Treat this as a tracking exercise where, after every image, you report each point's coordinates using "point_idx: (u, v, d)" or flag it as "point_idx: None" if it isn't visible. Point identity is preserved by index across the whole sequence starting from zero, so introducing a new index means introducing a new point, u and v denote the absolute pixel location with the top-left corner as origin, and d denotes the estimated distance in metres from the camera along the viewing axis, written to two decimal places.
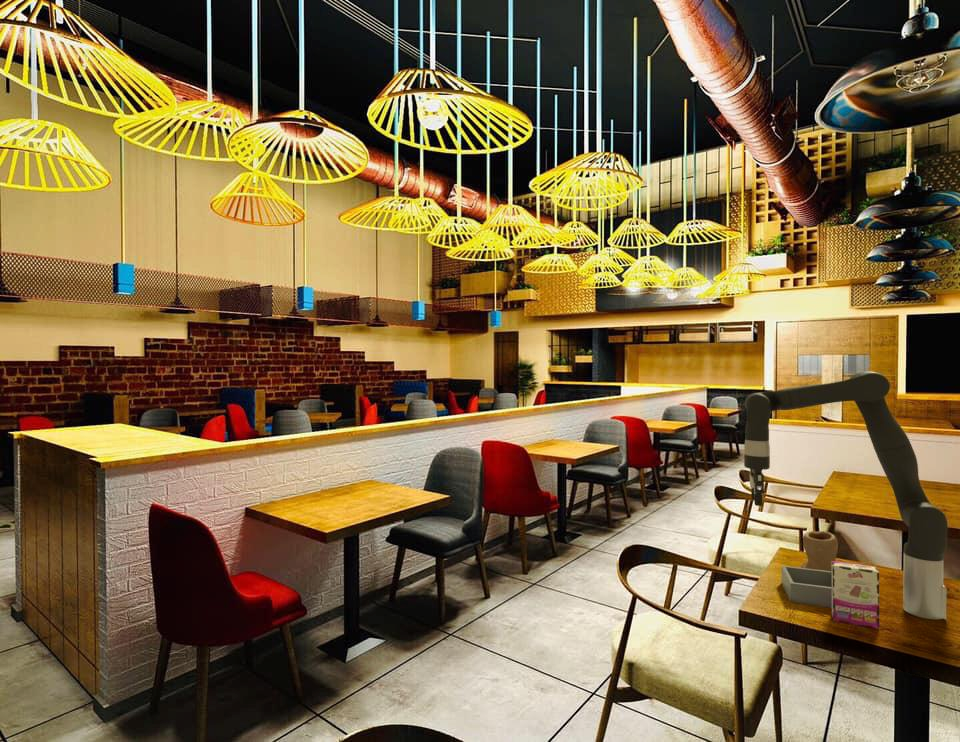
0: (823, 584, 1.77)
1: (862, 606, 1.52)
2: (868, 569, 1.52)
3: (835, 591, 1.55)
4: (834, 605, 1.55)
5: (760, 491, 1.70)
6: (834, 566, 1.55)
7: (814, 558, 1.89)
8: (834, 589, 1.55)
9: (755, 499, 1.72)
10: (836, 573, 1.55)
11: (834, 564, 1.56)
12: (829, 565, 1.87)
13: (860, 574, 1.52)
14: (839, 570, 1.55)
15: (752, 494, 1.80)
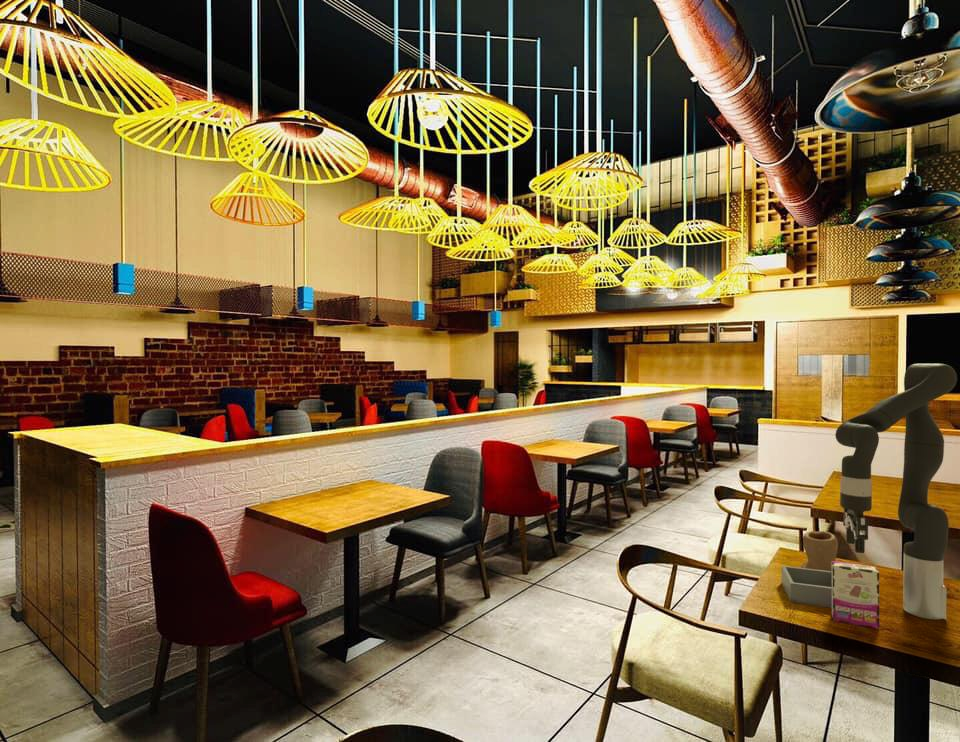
0: (823, 584, 1.77)
1: (862, 606, 1.52)
2: (868, 569, 1.52)
3: (834, 591, 1.55)
4: (834, 605, 1.55)
5: (863, 537, 1.48)
6: (834, 566, 1.55)
7: (814, 558, 1.89)
8: (834, 589, 1.55)
9: (856, 545, 1.51)
10: (836, 573, 1.55)
11: (834, 564, 1.56)
12: (829, 565, 1.87)
13: (860, 574, 1.52)
14: (839, 570, 1.55)
15: (847, 537, 1.59)
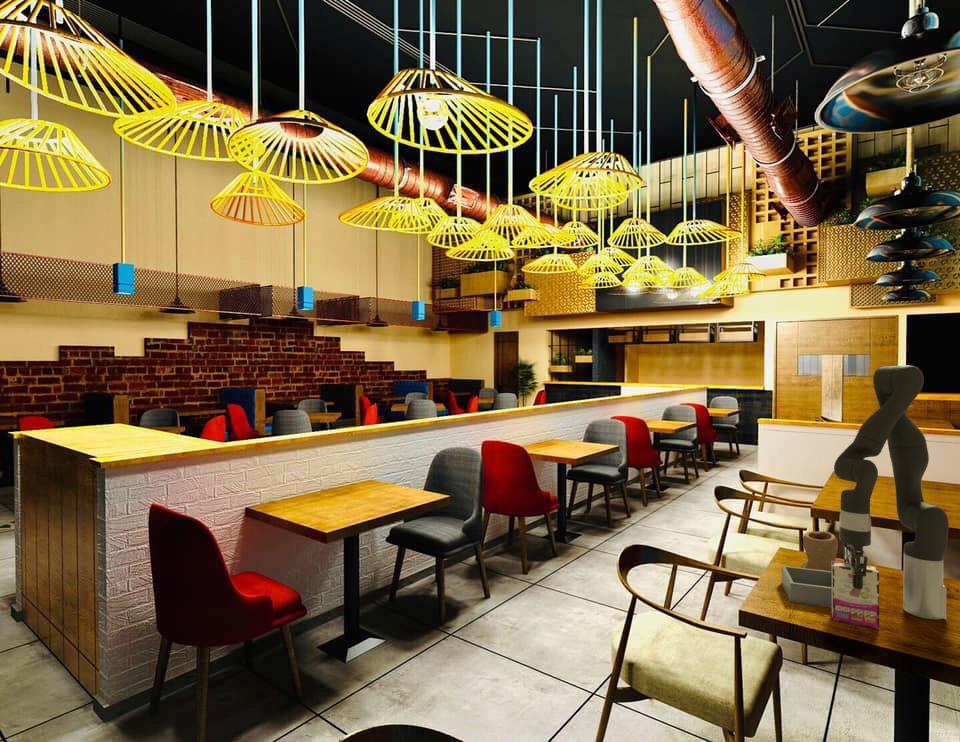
0: (823, 584, 1.77)
1: (862, 606, 1.52)
2: (868, 569, 1.52)
3: (834, 590, 1.55)
4: (834, 605, 1.55)
5: (861, 573, 1.50)
6: (834, 566, 1.55)
7: (814, 558, 1.89)
8: (834, 589, 1.55)
9: (854, 581, 1.52)
10: (836, 573, 1.55)
11: (834, 564, 1.56)
12: (829, 565, 1.87)
13: None
14: (839, 570, 1.55)
15: None
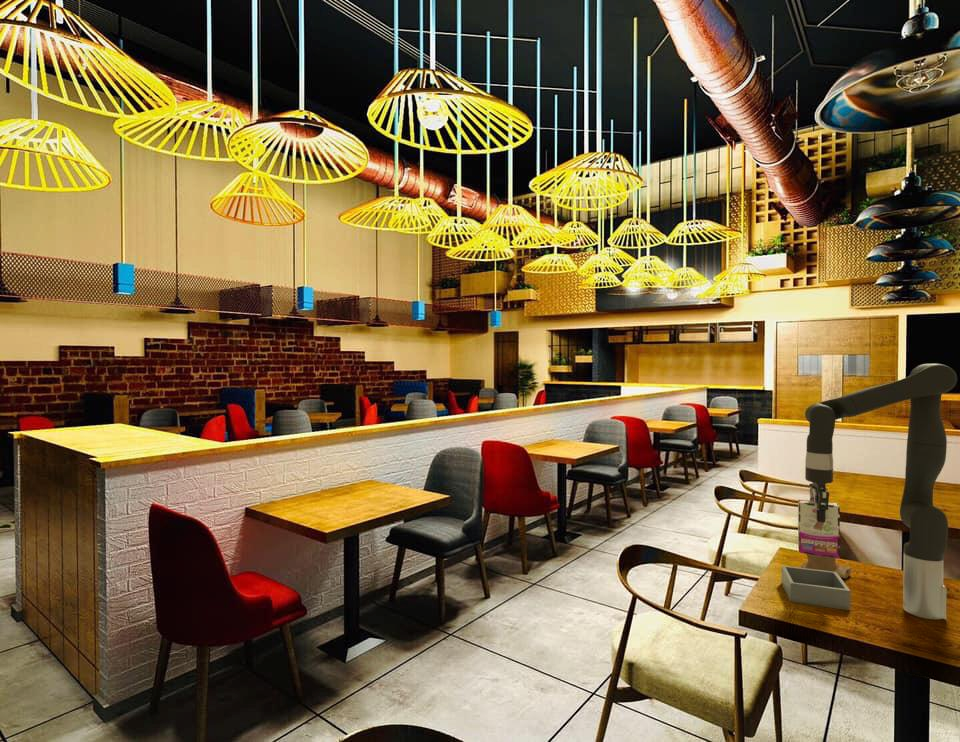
0: (823, 584, 1.77)
1: (825, 538, 1.67)
2: (830, 505, 1.67)
3: (800, 525, 1.70)
4: (800, 538, 1.70)
5: (824, 507, 1.65)
6: (800, 503, 1.70)
7: (814, 558, 1.89)
8: (800, 524, 1.70)
9: (818, 515, 1.67)
10: (802, 509, 1.70)
11: (800, 501, 1.71)
12: (829, 565, 1.87)
13: None
14: (805, 506, 1.70)
15: None
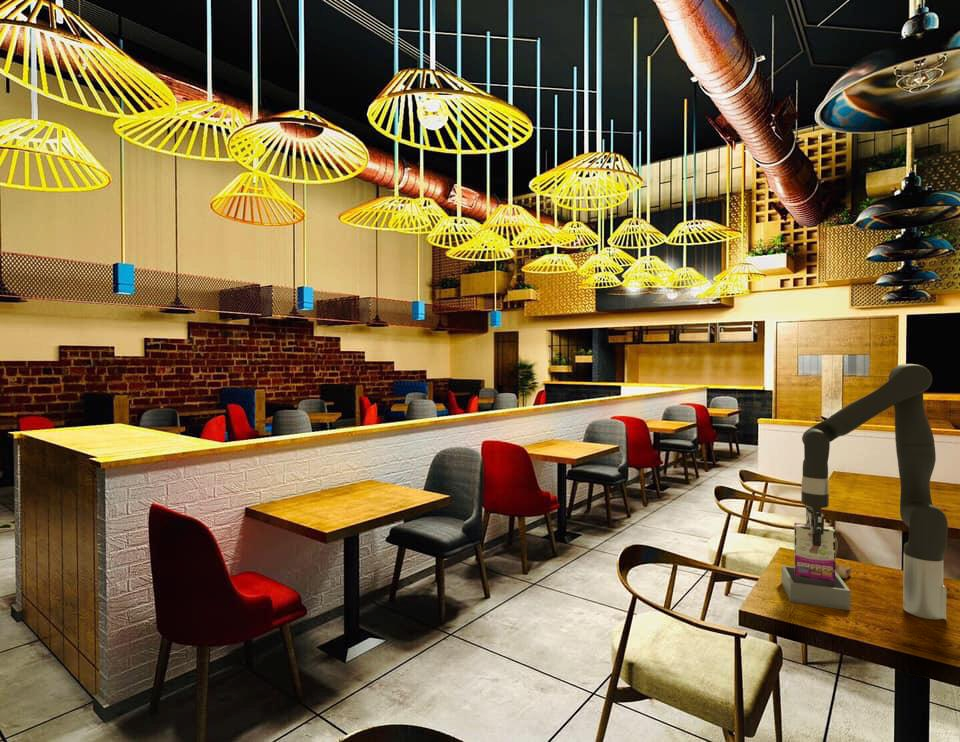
0: (823, 584, 1.77)
1: (820, 562, 1.69)
2: (825, 529, 1.69)
3: (796, 548, 1.73)
4: (796, 561, 1.73)
5: (819, 532, 1.67)
6: (796, 526, 1.73)
7: None
8: (796, 547, 1.73)
9: (813, 539, 1.69)
10: (798, 532, 1.72)
11: (796, 525, 1.74)
12: None
13: None
14: (801, 530, 1.72)
15: None
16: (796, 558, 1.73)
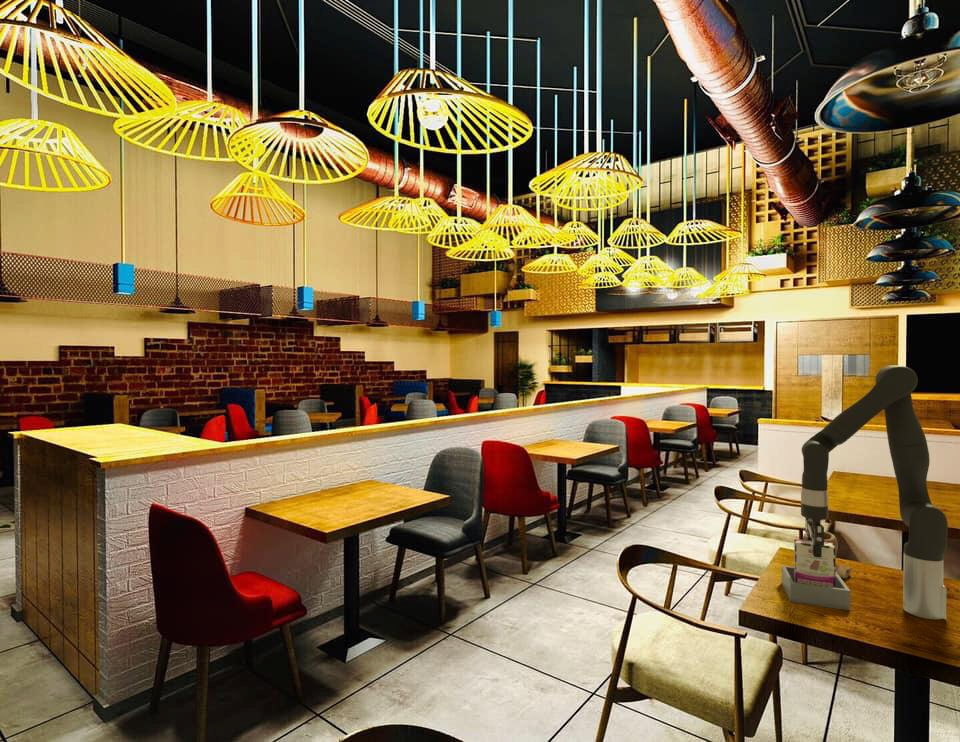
0: None
1: (821, 579, 1.69)
2: (826, 545, 1.69)
3: (796, 565, 1.72)
4: (796, 578, 1.72)
5: (820, 543, 1.66)
6: (796, 543, 1.73)
7: None
8: (796, 564, 1.72)
9: (814, 550, 1.68)
10: (798, 549, 1.72)
11: (796, 541, 1.73)
12: None
13: None
14: (801, 547, 1.72)
15: None
16: (796, 575, 1.72)
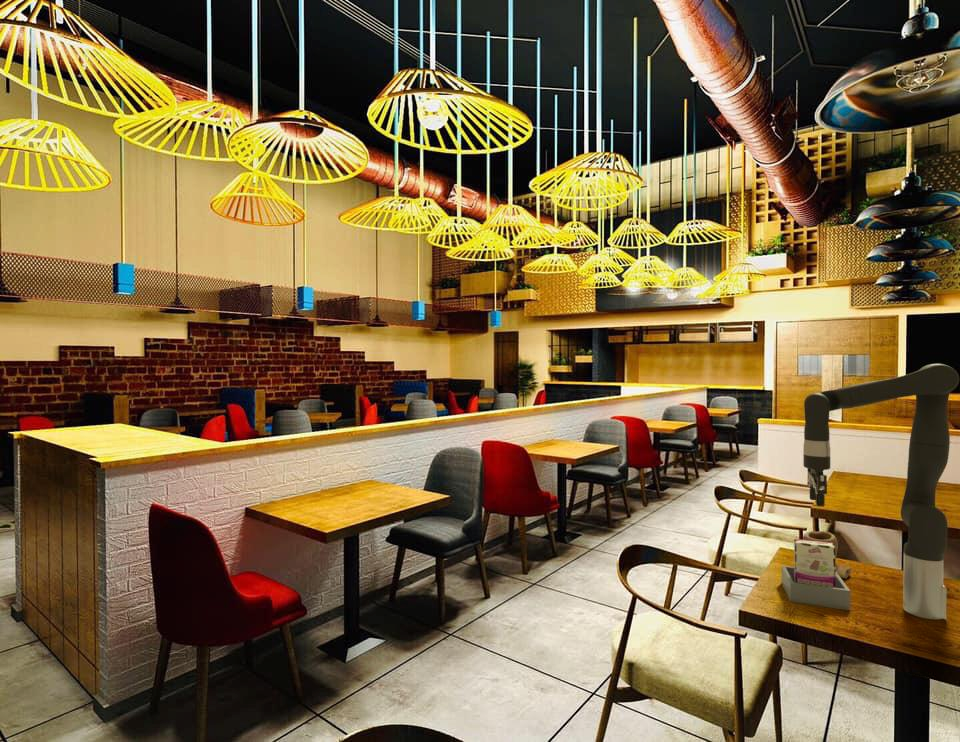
0: None
1: (821, 579, 1.69)
2: (826, 545, 1.69)
3: (796, 565, 1.72)
4: (796, 578, 1.72)
5: (823, 491, 1.68)
6: (796, 543, 1.73)
7: None
8: (796, 564, 1.72)
9: (817, 499, 1.71)
10: (798, 549, 1.72)
11: (796, 541, 1.73)
12: None
13: (819, 550, 1.70)
14: (801, 547, 1.72)
15: (811, 495, 1.79)
16: (796, 575, 1.72)
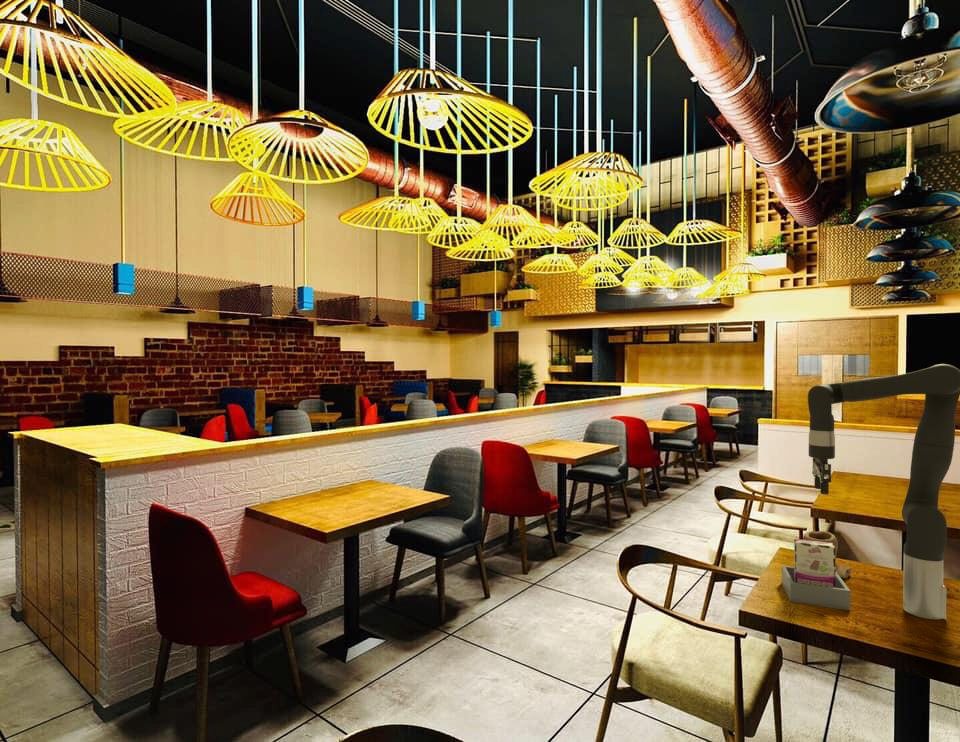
0: None
1: (821, 579, 1.69)
2: (826, 545, 1.69)
3: (796, 565, 1.72)
4: (796, 578, 1.72)
5: (827, 480, 1.73)
6: (796, 543, 1.73)
7: None
8: (796, 564, 1.72)
9: (821, 488, 1.76)
10: (798, 549, 1.72)
11: (796, 541, 1.73)
12: None
13: (819, 550, 1.70)
14: (801, 547, 1.72)
15: (815, 484, 1.84)
16: (796, 575, 1.72)
